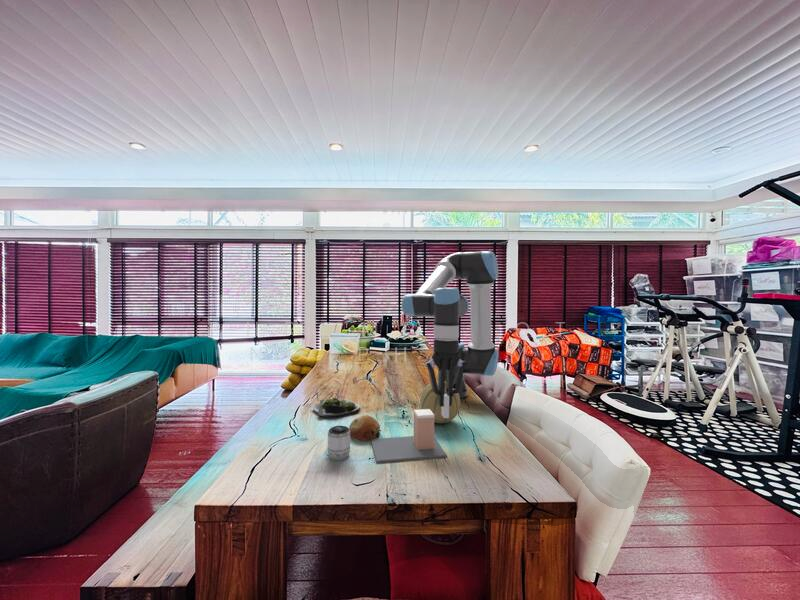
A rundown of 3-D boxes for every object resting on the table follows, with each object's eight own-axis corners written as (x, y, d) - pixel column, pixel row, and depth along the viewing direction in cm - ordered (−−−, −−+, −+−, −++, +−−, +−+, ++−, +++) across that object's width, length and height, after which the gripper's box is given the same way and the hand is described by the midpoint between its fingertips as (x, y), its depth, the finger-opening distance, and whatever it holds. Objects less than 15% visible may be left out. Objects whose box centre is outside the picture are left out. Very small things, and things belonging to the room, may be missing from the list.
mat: (432, 436, 110) (432, 434, 110) (446, 457, 96) (446, 455, 96) (371, 440, 106) (371, 439, 106) (376, 462, 92) (376, 460, 92)
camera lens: (336, 448, 100) (336, 422, 100) (354, 453, 98) (354, 426, 97) (322, 458, 95) (323, 430, 94) (341, 463, 92) (341, 434, 92)
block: (429, 441, 105) (429, 409, 105) (433, 448, 100) (434, 414, 100) (413, 442, 104) (413, 409, 104) (417, 449, 99) (417, 415, 99)
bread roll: (370, 438, 116) (364, 415, 118) (389, 434, 109) (382, 409, 112) (347, 447, 109) (341, 422, 112) (365, 443, 102) (358, 416, 105)
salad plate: (302, 407, 136) (302, 396, 136) (341, 399, 147) (341, 389, 147) (323, 422, 121) (323, 409, 121) (365, 412, 132) (365, 400, 132)
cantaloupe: (432, 411, 133) (432, 373, 132) (466, 420, 124) (467, 379, 124) (411, 423, 121) (411, 381, 120) (448, 433, 112) (448, 388, 112)
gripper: (461, 337, 107) (460, 411, 108) (422, 337, 105) (421, 413, 105) (471, 340, 100) (470, 419, 100) (428, 341, 97) (427, 422, 98)
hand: (445, 416), depth 103 cm, fingers closed
